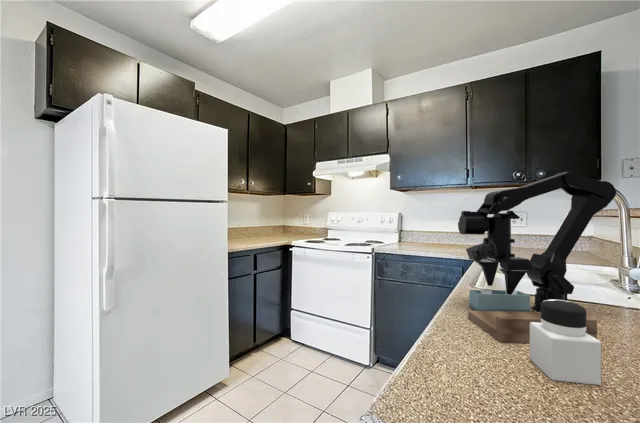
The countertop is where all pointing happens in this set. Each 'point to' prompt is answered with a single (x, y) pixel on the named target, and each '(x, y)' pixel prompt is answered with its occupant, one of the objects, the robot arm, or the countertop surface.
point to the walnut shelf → (514, 324)
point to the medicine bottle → (565, 344)
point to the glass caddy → (499, 300)
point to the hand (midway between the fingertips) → (499, 289)
